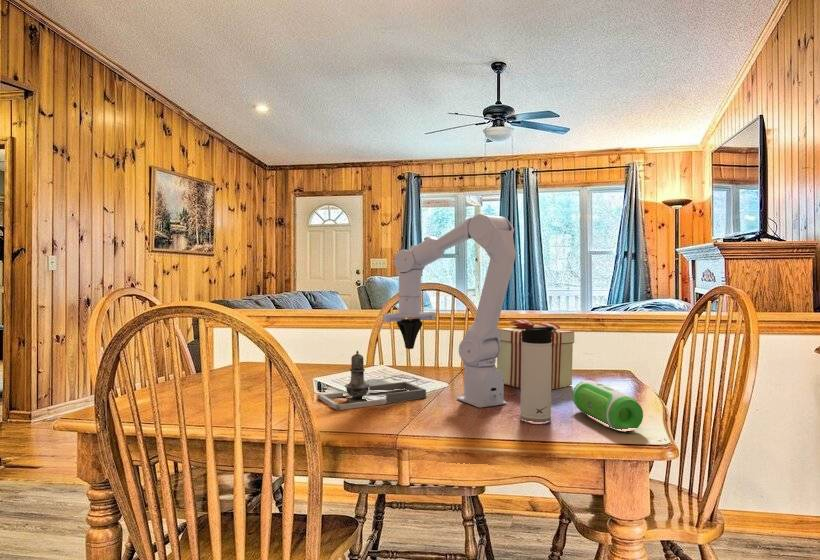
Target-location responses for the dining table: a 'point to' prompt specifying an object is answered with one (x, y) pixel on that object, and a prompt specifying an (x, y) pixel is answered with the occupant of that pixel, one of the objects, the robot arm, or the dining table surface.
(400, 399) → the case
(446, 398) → the dining table surface
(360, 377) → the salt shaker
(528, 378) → the travel mug
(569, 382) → the gift box
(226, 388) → the dining table surface
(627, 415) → the speaker
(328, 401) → the gray square frame
